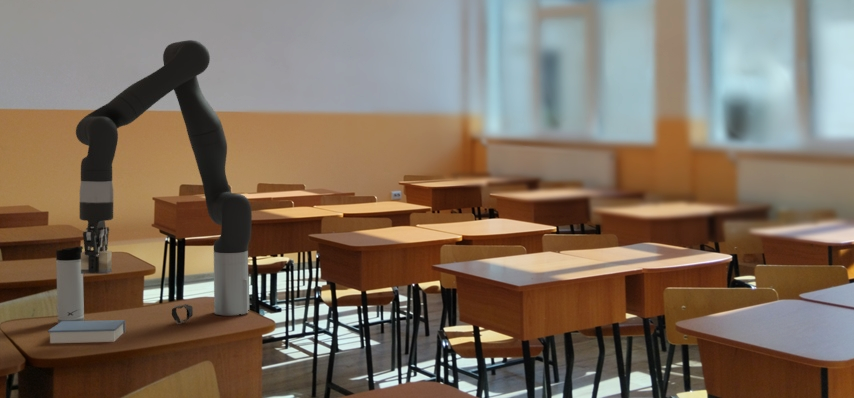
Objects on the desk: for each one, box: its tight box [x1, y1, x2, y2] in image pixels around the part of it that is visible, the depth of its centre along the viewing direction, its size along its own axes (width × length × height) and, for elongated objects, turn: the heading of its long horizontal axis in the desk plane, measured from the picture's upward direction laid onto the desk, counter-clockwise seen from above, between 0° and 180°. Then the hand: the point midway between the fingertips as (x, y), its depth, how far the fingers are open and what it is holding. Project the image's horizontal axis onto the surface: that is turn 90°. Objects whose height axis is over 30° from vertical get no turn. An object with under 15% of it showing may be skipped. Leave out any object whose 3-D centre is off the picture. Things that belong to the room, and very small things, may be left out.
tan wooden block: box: [81, 250, 113, 275], centre depth 192 cm, size 6×4×5 cm, turn 98°
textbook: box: [47, 319, 126, 344], centre depth 193 cm, size 15×10×4 cm, turn 98°
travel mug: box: [55, 245, 85, 324], centre depth 208 cm, size 6×7×20 cm
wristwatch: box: [171, 303, 194, 325], centre depth 209 cm, size 3×5×5 cm, turn 77°
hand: (96, 270), depth 192 cm, fingers closed on tan wooden block, 4 cm apart
